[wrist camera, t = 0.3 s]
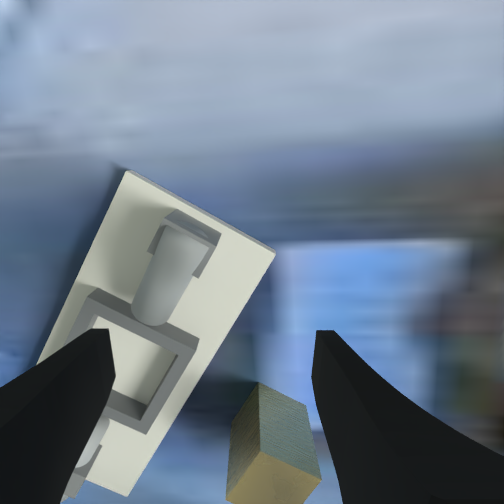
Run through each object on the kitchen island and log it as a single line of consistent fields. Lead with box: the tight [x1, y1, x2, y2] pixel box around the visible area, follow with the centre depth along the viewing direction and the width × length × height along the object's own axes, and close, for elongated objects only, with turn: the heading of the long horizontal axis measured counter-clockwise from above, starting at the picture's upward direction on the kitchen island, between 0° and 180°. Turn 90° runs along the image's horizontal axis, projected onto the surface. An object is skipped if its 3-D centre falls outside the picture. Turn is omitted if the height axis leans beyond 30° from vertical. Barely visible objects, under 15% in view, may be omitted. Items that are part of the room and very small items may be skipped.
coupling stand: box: [36, 170, 276, 502], centre depth 21 cm, size 22×10×5 cm, turn 150°
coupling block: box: [225, 382, 322, 504], centre depth 22 cm, size 4×4×6 cm
